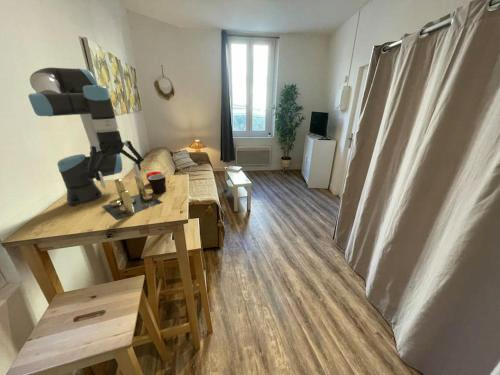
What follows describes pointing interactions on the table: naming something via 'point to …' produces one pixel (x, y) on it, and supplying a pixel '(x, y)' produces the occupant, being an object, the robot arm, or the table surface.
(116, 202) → the knob back
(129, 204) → the knob front
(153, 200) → the levelling plate
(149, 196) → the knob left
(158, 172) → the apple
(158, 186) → the coffee mug
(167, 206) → the table surface
